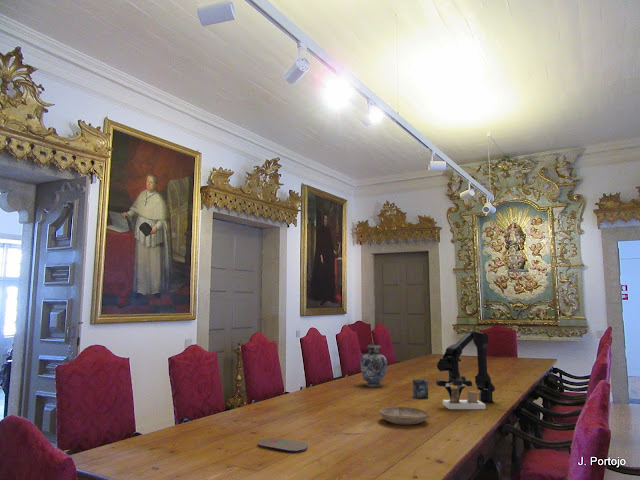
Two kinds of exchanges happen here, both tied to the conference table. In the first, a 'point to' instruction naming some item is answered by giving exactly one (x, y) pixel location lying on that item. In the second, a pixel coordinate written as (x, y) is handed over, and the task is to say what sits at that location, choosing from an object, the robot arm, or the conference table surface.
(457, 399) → the beige rectangular block
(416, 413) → the ceramic bowl
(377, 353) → the decorative vase
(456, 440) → the conference table surface
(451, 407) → the white block with holes
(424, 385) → the box
